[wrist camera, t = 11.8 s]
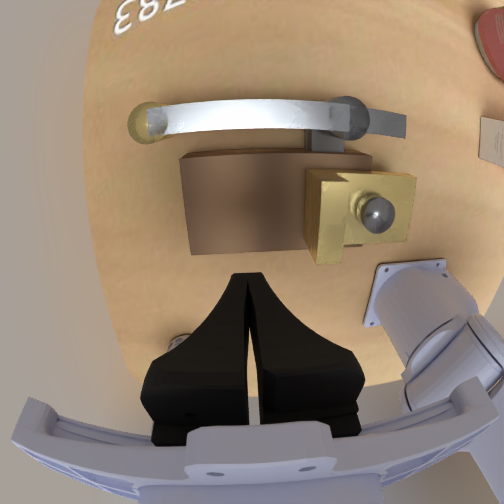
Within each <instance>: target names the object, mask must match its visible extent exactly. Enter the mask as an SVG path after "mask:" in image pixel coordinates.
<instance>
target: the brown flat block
mask: <svg viewBox="0 0 504 504" xmlns="http://www.w3.org/2000/svg"><path fill="white" fill-rule="evenodd" d="M179 161H180V171H181V181H182V190H183V199H184V207H185V215H186V222H187V230H188V237H189V244H190V251H191V255H205V254H224V253H244V252H263V251H283V250H302V249H308V247H307V245H306V243H305V241H304V220H305V192H306V169H341V170H364V171H371V167H372V156H370V155H367V154H364V153H361V152H358V151H355V150H344V139H340V138H336V137H332V136H328V135H324V134H322V133H320V132H319V131H318V130H316V129H305V148H264V149H237V150H221V151H207V152H196V153H187V154H186V155H184V156H183V157H182V158H180V159H179ZM362 245H363V244H348V245H344V246H343V247H361V246H362Z"/></svg>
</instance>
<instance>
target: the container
mask: <svg viewBox="0 0 504 504" xmlns="http://www.w3.org/2000/svg"><path fill="white" fill-rule="evenodd" d="M475 36H476V41H477V44H478V47H479V50H480V52H481V55H482V57H483V59H484V60H485V62H486V64H487V65H488V67H489V68H490V70H491V71H492V72H493V73H494V74H495V75H496V76H497V77H499V78H501V79H502V80H503V81H504V6H503V7H498V8H493V9H489V10H486V11H485V12H484V13H483V14H482V15H481V16H480V18H479V20H478V21H477V22H476V25H475Z"/></svg>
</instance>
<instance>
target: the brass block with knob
mask: <svg viewBox="0 0 504 504" xmlns="http://www.w3.org/2000/svg"><path fill="white" fill-rule="evenodd" d="M416 180H417V178H416V177H414V176H412V175H410V174H406V173H394V172H381V171H364V170H341V169H306V192H305V220H304V241H305V243H306V245H307V247H308V249H309V251H310V253H311V255H312V257H313V259H314V261H315V263H316V265H319V264H334V263H341V261H342V254H343V246H344V245H348V244H369V243H390V242H406V240H407V235H408V230H409V225H410V220H411V214H412V208H413V202H414V195H415V188H416Z"/></svg>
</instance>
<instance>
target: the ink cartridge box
mask: <svg viewBox="0 0 504 504" xmlns="http://www.w3.org/2000/svg"><path fill="white" fill-rule="evenodd" d="M479 158H480V159H482V160H485V161H488V162H490V163H493V164H496V165H498V166H501V167H504V121H501V120H496V119H491V118H486V117H481V131H480V150H479Z"/></svg>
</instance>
